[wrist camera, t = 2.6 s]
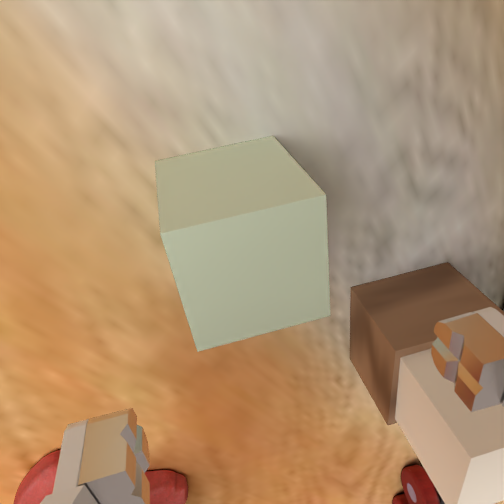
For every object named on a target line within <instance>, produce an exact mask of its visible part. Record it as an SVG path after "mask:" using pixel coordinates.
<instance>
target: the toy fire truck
mask: <svg viewBox="0 0 504 504" xmlns="http://www.w3.org/2000/svg"><path fill="white" fill-rule="evenodd" d="M401 480H402V486H403V489H404V494H401V495H397V496H395V497H394V498H393V502H392V504H445V503H444V501H443V500H442V498H441V496H440V494H439V493H438V491H437V489H436V488H435V486H434V484H433V483H432V481H431V479H430V477H429V476H428V474H427V472H426V471H425V469H424V468H423V467H421V466H419V465H412V466H409V467H405V468H404V469H403V470H402V473H401Z"/></svg>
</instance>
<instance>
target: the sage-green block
mask: <svg viewBox="0 0 504 504" xmlns="http://www.w3.org/2000/svg"><path fill="white" fill-rule="evenodd" d="M155 170H156V184H157V198H158V211H159V225H160V235H161V238H162V241H163V244H164V247H165V251H166V254H167V257H168V260H169V263H170V266H171V270H172V273H173V276H174V279H175V282H176V285H177V288H178V292H179V295H180V298H181V301H182V304H183V307H184V311H185V314H186V317H187V320H188V323H189V326H190V330H191V333H192V336H193V339H194V342H195V345H196V348H197V352H199V351H202V350H206V349H210V348H213V347H217V346H221V345H225V344H228V343H232V342H236V341H239V340H243V339H247V338H250V337H254V336H258V335H262V334H265V333H269V332H273V331H276V330H280V329H284V328H287V327H291V326H295V325H299V324H302V323H306V322H310V321H313V320H317V319H321V318H325V317H328V316H330V288H329V260H328V232H327V204H326V194H325V193H324V192H323V191H322V189H321V188H320V187H319V186H318V185H317V184H316V183H315V182H314V181H313V179H312V178H311V177H310V176H309V175H308V174H307V173H306V172H305V171H304V169H303V168H302V167H301V166H300V165H299V164H298V163H297V162H296V161H295V159H294V158H293V157H292V156H291V155H290V154H289V153H288V152H287V151H286V149H285V148H284V147H283V146H282V145H281V144H280V143H279V142H278V141H277V139H276V138H275V137H274V136H269V137H264V138H260V139H255V140H250V141H246V142H241V143H236V144H232V145H227V146H223V147H218V148H213V149H209V150H204V151H199V152H195V153H190V154H185V155H181V156H176V157H171V158H167V159H162V160H158V161H155Z"/></svg>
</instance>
